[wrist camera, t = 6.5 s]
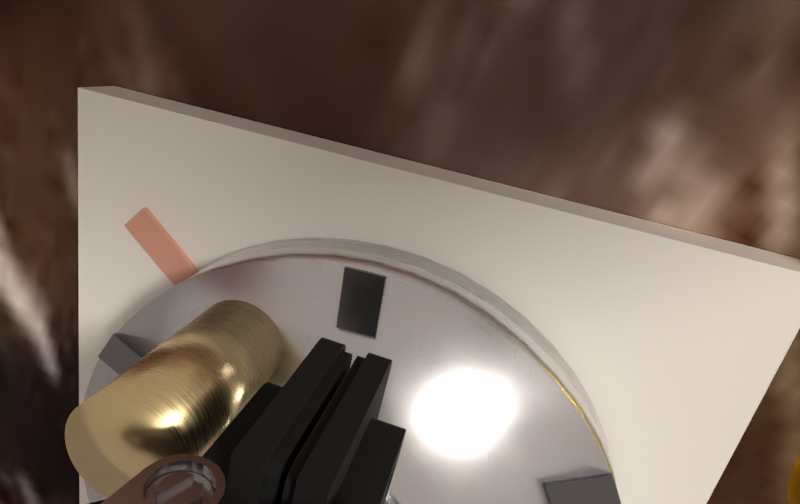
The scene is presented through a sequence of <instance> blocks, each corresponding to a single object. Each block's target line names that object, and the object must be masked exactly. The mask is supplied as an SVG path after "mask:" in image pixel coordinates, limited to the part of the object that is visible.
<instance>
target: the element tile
mask: <svg viewBox="0 0 800 504" xmlns="http://www.w3.org/2000/svg"><path fill="white" fill-rule="evenodd" d="M787 493H788V504H800V455H799V457H798V459H797V461H796V463H795V464H794V466H793V468H792V471H791V474H790V477H789V481H788V484H787Z"/></svg>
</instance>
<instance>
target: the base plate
mask: <svg viewBox="0 0 800 504" xmlns="http://www.w3.org/2000/svg"><path fill="white" fill-rule="evenodd" d="M303 238H337V239H352V240H358V241H364V242H370V243H376V244H382V245H387V246H390V247H394V248H397V249H400V250H404V251H407V252H410V253H414V254H417V255H420V256H423V257H426V258H428V259H430V260H433V261H435V262H437V263H439V264H442V265H444V266H446V267H449V268H451V269H453V270H455V271H458V272H460V273H462V274H463V275H465V276H467V277H468V278H470V279H472V280H473V281H475V282H477V283H478V284H480V285H482V286H483V287H485V288H487V289H488V290H490V291H492V292H494V293H495V294H496V295H498V296H499V297H500V298H502V299H503V300H504V301H505V302H507V303H508V304H509V305H511V306H512V307H513V308H514V309H516V310H517V311H518V312H520V313H521V314H522V315H523V316H525V317H526V318H527V319H528V320H529V321H530V322H531V323H532V324H533V325H534V326H535V327H536V328H537V329H538V330H539V331H540V332H541V333H542V334H543V335H544V336H545V337H546V338H547V339H548V340H549V341H550V342H551V343H552V344H553V345H554V346H555V348H556V349H557V350H558V352H559V353H560V354H561V356H562V357H563V358H564V359H565V361H566V362H567V363H568V365H569V366H570V367H571V369H572V370H573V371H574V373H575V374H576V375H577V377H578V379H579V381H580V382H581V384H582V386H583V388H584V389H585V391H586V393H587V395H588V396H589V398H590V400H591V402H592V403H593V405H594V407H595V410H596V412H597V415H598V418H599V420H600V423H601V425H602V428H603V431H604V433H605V436H606V438H607V443H608V447H609V452H610V457H611V461H612V466H613V470H614V475H615V480H616V485H617V489H618V494H619V497H620V501H621V504H707V502H708V500H709V498H710V496H711V494H712V492H713V490H714V488H715V487H716V485H717V483H718V481H719V479H720V477H721V475H722V473H723V472H724V470H725V468H726V466H727V464H728V462H729V460H730V458H731V457H732V455H733V453H734V451H735V449H736V447H737V445H738V443H739V441H740V440H741V438H742V436H743V434H744V432H745V430H746V428H747V426H748V425H749V423H750V421H751V419H752V417H753V415H754V413H755V411H756V409H757V408H758V406H759V404H760V402H761V400H762V398H763V396H764V394H765V393H766V391H767V389H768V387H769V385H770V383H771V381H772V379H773V377H774V376H775V374H776V372H777V370H778V368H779V366H780V364H781V362H782V361H783V359H784V357H785V355H786V353H787V351H788V349H789V347H790V346H791V344H792V342H793V340H794V338H795V336H796V334H797V332H798V330H799V329H800V260H799V259H797V258H794V257H790V256H786V255H782V254H778V253H774V252H770V251H766V250H762V249H759V248H755V247H751V246H747V245H743V244H739V243H735V242H731V241H727V240H723V239H719V238H715V237H711V236H707V235H703V234H699V233H695V232H691V231H687V230H683V229H679V228H675V227H671V226H667V225H664V224H660V223H656V222H652V221H648V220H644V219H640V218H636V217H632V216H628V215H624V214H620V213H616V212H612V211H608V210H604V209H600V208H596V207H592V206H588V205H584V204H580V203H576V202H573V201H569V200H565V199H561V198H557V197H553V196H549V195H545V194H541V193H537V192H533V191H529V190H525V189H521V188H517V187H513V186H509V185H505V184H501V183H497V182H493V181H489V180H485V179H482V178H478V177H474V176H470V175H466V174H462V173H458V172H454V171H450V170H446V169H442V168H438V167H434V166H430V165H426V164H422V163H418V162H414V161H410V160H406V159H402V158H398V157H394V156H390V155H387V154H383V153H379V152H375V151H371V150H367V149H363V148H359V147H355V146H351V145H347V144H343V143H339V142H335V141H331V140H327V139H323V138H319V137H315V136H311V135H307V134H303V133H299V132H296V131H292V130H288V129H284V128H280V127H276V126H272V125H268V124H264V123H260V122H256V121H252V120H248V119H244V118H240V117H236V116H232V115H228V114H224V113H220V112H216V111H212V110H208V109H205V108H201V107H197V106H193V105H189V104H185V103H181V102H177V101H173V100H169V99H165V98H161V97H157V96H153V95H149V94H145V93H141V92H137V91H133V90H129V89H125V88H121V87H117V86H99V87H78V266H79V405H80V404H81V403H83V402H84V397H85V393H86V390H87V387H88V384H89V381H90V379H91V376H92V373H93V370H94V368H95V366H96V364H97V362H98V361H99V359H100V358H99V357H98V356H99V354H100V353H101V351H102V350H103V348H104V347H105V345H106V344H107V342H108V341H109V339H110V338H111V337H112V335H113V334H114V333H117V332H118V331H119V330H120V329H121V327H122V326H123V325H124V324H125V322H126V321H127V320H129V319H130V318H131V317H132V316H133V315H134V314H136V313H137V312H138V311H139V310H140V309H141V308H143V307H144V306H145V305H146V304H147V303H148V302H150V301H151V300H153V299H155V298H156V297H158V296H159V295H161V294H163V293H164V292H166V291H168V290H169V289H171V288H172V287H174V286H176V285H177V284H179V283H181V282H182V281H184V280H185V279H187V278H189V277H190V276H192V275H194V274H195V273H197V272H199V271H200V270H202V269H204V268H205V267H207V266H209V265H210V264H212V263H214V262H215V261H217V260H219V259H222V258H224V257H227V256H229V255H231V254H234V253H236V252H239V251H241V250H244V249H246V248H250V247H255V246H259V245H263V244H267V243H271V242H275V241H282V240H292V239H303ZM88 503H89V499H88V495H87V491H86V487H85V483H84V479H83V478H82V477H81V475H80V474H79V504H88Z"/></svg>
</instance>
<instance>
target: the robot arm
mask: <svg viewBox="0 0 800 504" xmlns="http://www.w3.org/2000/svg"><path fill="white" fill-rule="evenodd" d="M345 350H346V345H344V344H341V343H338V342H335V341H332V340H329V339H326V338H323V337H322V338H321V339H320V340H319V341H318V342H317V343H316V345H315V346H314V347H313V349H312V350H311V351H310V353H309V354H308V355H307V356H306V358H305V359H304V360H303V362H302V363H301V364H300V365H299V367H298V368H297V369H296V371H295V372H294V373H293V374H292V376H291V377H290V378H289V380H288V381H287V382H286V383H285V385H284V386H283V387H282V386H279V385H276V384H273V383H270V382H266V383H265V384H264V385H262V386H261V388H260V389H259V390H258V391H257V392H256V393H255V395H254V396H253V397H252V398H251V399H250V401H249V402H248V403H247V404H246V405H245V406H244V408H243V409H242V410H241V411H240V412H239V414H238V415H237V416H236V417H235V418H234V419H233V421H232V422H231V423H230V424H229V425H228V427H227V428H226V429H225V430H224V431H223V433H222V434H221V435H220V436H219V437H218V438H217V440H216V441H215V442H214V443H213V444H212V446H211V447H210V448H209V449H208V450H207V451H206V453H205V454H204V455H203V456H202V457H201V456H198V455H190V454H181V455H172V456H168V457H165V458H162V459H159V460H157V461H156V462H154V463H152V464H151V465H149V466H147V467H146V468H145V469H143V470H142V471H141V472H140V473H138V474H137V475H136V476H135V477H133V478H132V479H131V480H130V481H128V482H127V483H126V484H125V485H123V486H122V487H121V488H120V489H118V490H117V491H116V492H115V493H113V494H112V495H111V496H109V497H108V498H107V499H105V500H101V501H97V502H92V503H88V504H384V502H385V499H386V496H387V493H388V490H389V487H390V484H391V481H392V478H393V474H394V471H395V468H396V464H397V461H398V458H399V454H400V451H401V447H402V444H403V440H404V437H405V433H406V429H404V428H401V427H398V426H395V425H392V424H389V423H386V422H384V421H381V420H378V416H379V412H380V408H381V404H382V400H383V396H384V393H385V389H386V385H387V381H388V377H389V373H390V370H391V366H392V360H390V359H387V358H384V357H381V356H378V355H375V354H372V353H368V354H367V356H366V358H363V357H360V356H357V357H356V359H355V360H354V362H353V364H352V365H351V361H352V354H351V353H348V352H345ZM350 366H351V367H350Z"/></svg>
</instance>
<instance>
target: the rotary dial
mask: <svg viewBox="0 0 800 504" xmlns="http://www.w3.org/2000/svg"><path fill="white" fill-rule="evenodd" d="M322 337H323V338H326V339H329V340H332V341H335V342H338V343H341V344H344V345H346V350H345V352H348V353H351V354H352V361H351V365H352V364H353V362H354V360H355V359H356V357H357V356H360V357H363V358H366V356H367V354H368V353H372V354H375V355H378V356H381V357H384V358H387V359H390V360H392V366H391V370H390V373H389V377H388V381H387V385H386V389H385V393H384V396H383V400H382V404H381V408H380V412H379V416H378V420H381V421H384V422H386V423H389V424H392V425H395V426H398V427H401V428H404V429H406V433H405V437H404V440H403V444H402V447H401V451H400V454H399V458H398V461H397V464H396V468H395V471H394V474H393V478H392V481H391V484H390V487H389V490H388V493H387V496H386V499H385V502H384V504H621V501H620V497H619V494H618V489H617V485H616V480H615V475H614V470H613V466H612V461H611V457H610V452H609V447H608V443H607V438H606V436H605V433H604V431H603V428H602V425H601V423H600V420H599V418H598V415H597V412H596V410H595V407H594V405H593V403H592V402H591V400H590V398H589V396H588V395H587V393H586V391H585V389H584V388H583V386H582V384H581V382H580V381H579V379H578V377H577V375H576V374H575V373H574V371H573V370H572V369H571V367H570V366H569V365H568V363H567V362H566V361H565V359H564V358H563V357H562V356H561V354H560V353H559V352H558V350H557V349H556V348H555V346H554V345H553V344H552V343H551V342H550V341H549V340H548V339H547V338H546V337H545V336H544V335H543V334H542V333H541V332H540V331H539V330H538V329H537V328H536V327H535V326H534V325H533V324H532V323H531V322H530V321H529V320H528V319H527V318H526V317H525V316H523V315H522V314H521V313H520V312H518V311H517V310H516V309H514V308H513V307H512V306H511V305H509V304H508V303H507V302H505V301H504V300H503V299H502V298H500V297H499V296H498V295H496V294H495V293H494V292H492V291H490V290H488V289H487V288H485V287H483V286H482V285H480V284H478V283H477V282H475V281H473V280H472V279H470V278H468V277H467V276H465V275H463V274H462V273H460V272H458V271H455V270H453V269H451V268H449V267H446V266H444V265H442V264H439V263H437V262H435V261H433V260H430V259H428V258H426V257H423V256H420V255H417V254H414V253H410V252H407V251H404V250H400V249H397V248H394V247H390V246H387V245H382V244H376V243H370V242H364V241H358V240H352V239H337V238H303V239H292V240H282V241H275V242H271V243H267V244H263V245H259V246H255V247H250V248H246V249H244V250H241V251H239V252H236V253H234V254H231V255H229V256H227V257H224V258H222V259H219V260H217V261H215V262H214V263H212V264H210V265H209V266H207V267H205V268H204V269H202V270H200V271H199V272H197V273H195V274H194V275H192V276H190V277H189V278H187V279H185V280H184V281H182V282H181V283H179V284H177V285H176V286H174V287H172V288H171V289H169V290H168V291H166V292H164V293H163V294H161V295H159V296H158V297H156V298H155V299H153V300H151V301H150V302H148V303H147V304H146V305H145V306H144V307H143V308H141V309H140V310H139V311H138V312H137V313H136V314H134V315H133V316H132V317H131V318H130V319H129V320H127V321H126V322H125V324H124V325H123V326H122V327H121V329H120V330H119V331H118V332H117V333H114V334H113V335H112V337H111V338H110V339H109V341H108V342H107V344H106V345H105V347H104V348H103V350H102V351H101V353H100V354H99V356H98V357H99V358H100V359H99V361H98V362H97V364H96V366H95V368H94V370H93V373H92V376H91V379H90V381H89V384H88V387H87V390H86V393H85V397H84V402H83V403H81V404H80V405H79V406H78V407H76V408H75V409H74V410H73V411H72V413H71V414H70V416H69V418H68V420H67V423H66V427H65V443H66V448H67V451H68V454H69V457H70V459H71V461H72V463H73V465H74V467H75V468H76V470H77V471H78V473H79V474H80V475H81V477H82V478H83V479H84V483H85V487H86V491H87V495H88V499H89V503H92V502H97V501H101V500H105V499H107V498H108V497H109V496H111V495H112V494H113V493H115V492H116V491H117V490H118V489H120V488H121V487H122V486H123V485H125V484H126V483H127V482H128V481H130V480H131V479H132V478H133V477H135V476H136V475H137V474H138V473H140V472H141V471H142V470H143V469H145V468H146V467H147V466H149V465H151V464H152V463H154V462H156V461H157V460H159V459H162V458H165V457H168V456H172V455H181V454H190V455H198V456H201V457H202V456H203V455H204V454H205V453H206V451H207V450H208V449H209V448H210V447H211V446H212V444H213V443H214V442H215V441H216V440H217V438H218V437H219V436H220V435H221V434H222V433H223V431H224V430H225V429H226V428H227V427H228V425H229V424H230V423H231V422H232V421H233V419H234V418H235V417H236V416H237V415H238V414H239V412H240V411H241V410H242V409H243V408H244V406H245V405H246V404H247V403H248V402H249V401H250V399H251V398H252V397H253V396H254V395H255V393H256V392H257V391H258V390H259V389H260V388H261V386H262V385H264V384H265V383H266V382H270V383H273V384H276V385H279V386H282V387H283V386H284V385H285V383H286V382H287V381H288V380H289V378H290V377H291V376H292V374H293V373H294V372H295V371H296V369H297V368H298V367H299V365H300V364H301V363H302V362H303V360H304V359H305V358H306V356H307V355H308V354H309V353H310V351H311V350H312V349H313V347H314V346H315V345H316V343H317V342H318V341H319V340H320V339H321V338H322ZM350 367H351V366H350Z"/></svg>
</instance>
